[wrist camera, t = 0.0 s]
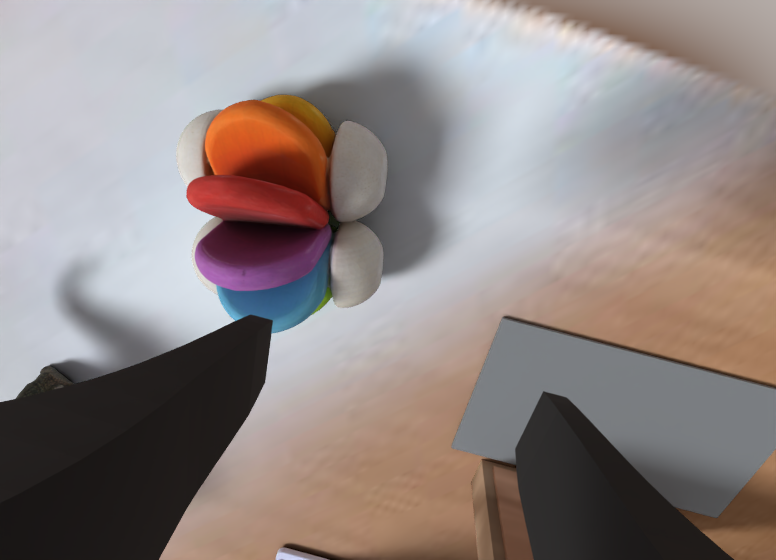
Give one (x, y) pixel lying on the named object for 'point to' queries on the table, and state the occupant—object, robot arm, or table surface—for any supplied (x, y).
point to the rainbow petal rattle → (283, 208)
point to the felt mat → (627, 411)
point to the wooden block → (499, 514)
